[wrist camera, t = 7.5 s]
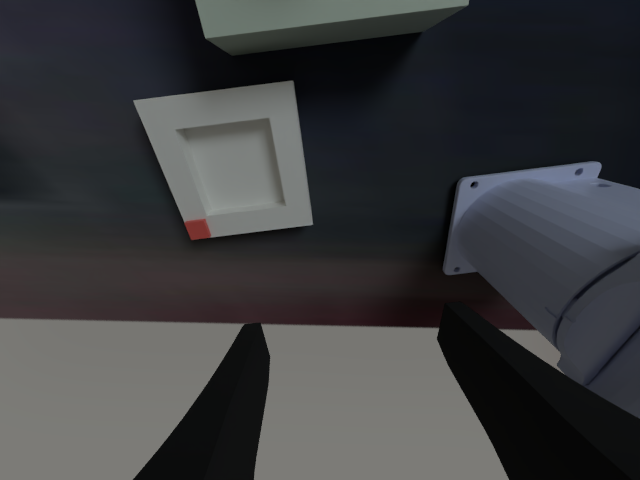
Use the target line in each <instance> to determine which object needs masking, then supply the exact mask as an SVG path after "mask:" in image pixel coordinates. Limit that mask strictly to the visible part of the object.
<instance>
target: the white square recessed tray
mask: <svg viewBox="0 0 640 480" xmlns="http://www.w3.org/2000/svg"><path fill="white" fill-rule="evenodd" d="M134 104H135V106H136V109H137V111H138V113H139V116H140V118H141V120H142V123H143V125H144V128H145V130H146V132H147V135H148V137H149V139H150V142H151V144H152V147H153V149H154V151H155V154H156V156H157V159H158V161H159V163H160V166H161V168H162V170H163V173H164V175H165V178H166V180H167V182H168V185H169V187H170V189H171V192H172V194H173V197H174V199H175V201H176V204H177V206H178V208H179V211H180V213H181V216H182V218H183V220H184V224H185V226H186V228H187V231H188V233H189V235H190V238H191V240H195V239H203V238H211V237H219V236H227V235H235V234H243V233H251V232H259V231H267V230H275V229H283V228H291V227H299V226H307V225H313V221H312V211H311V204H310V197H309V189H308V182H307V175H306V167H305V160H304V153H303V145H302V138H301V131H300V123H299V116H298V109H297V101H296V94H295V87H294V82H293V81H285V82H277V83H269V84H261V85H253V86H245V87H237V88H229V89H221V90H213V91H205V92H197V93H189V94H182V95H174V96H166V97H158V98H150V99H142V100H134Z"/></svg>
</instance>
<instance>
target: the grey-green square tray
mask: <svg viewBox="0 0 640 480" xmlns="http://www.w3.org/2000/svg"><path fill="white" fill-rule="evenodd" d="M195 2H196V5H197V9H198V13H199V17H200V20H201V24H202V28H203V32H204V35H205V39H207V40H209V41H210V42H212V43H213V44H215V45H216V46H218V47H219V48H221V49H222V50H224V51H225V52H227V53H229V54H230V55H232V56H234V55H242V54H250V53H258V52H266V51H274V50H282V49H290V48H297V47H305V46H313V45H321V44H329V43H337V42H345V41H353V40H361V39H369V38H377V37H385V36H392V35H400V34H408V33H416V32H423V31H425V30H427V29H429V28H430V27H432V26H434V25H435V24H437V23H439V22H440V21H442V20H444V19H446V18H447V17H449V16H451V15H452V14H454V13H456V12H457V11H459V10H461V9H463V8H464V7H466V6H468V3H469V0H195Z"/></svg>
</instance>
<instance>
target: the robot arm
mask: <svg viewBox="0 0 640 480" xmlns="http://www.w3.org/2000/svg"><path fill="white" fill-rule="evenodd" d="M576 170H577V171H576ZM600 170H601V164H600V163H599V162H592V161H591V162H583V163H575V164H567V165H559V166H551V167H543V168H535V169H527V170H519V171H511V172H503V173H495V174H487V175H479V176H471V177H464V178H462V179H460V180H459V182H458V183H457V186H456V192H455V198H454V204H453V210H452V216H451V222H450V228H449V234H448V240H447V246H446V252H445V258H444V264H443V271H444V273H445V274H446V275H455V274H463V273H471V272H478V273H479V274H480V275H482V276H483V277H484V278H485V279H486V280H487V281H488V282H489V283H490V284H491V285H492V286H493V287H494V288H495V289H496V290H497V291H498V292H499V293H500V294H501V295H502V296H503V297H504V298H505V299H506V300H507V301H508V302H509V303H510V304H511V305H512V306H513V307H514V308H515V309H516V310H517V311H518V312H520V313H521V314H522V315H523V316H524V317H525V318H526V319H527V320H528V321H529V322H530V323H531V324H532V325H533V326H534V327H535V328H536V329H537V330H538V331H539V332H540V333H541V334H542V335H543V336H544V337H545V338H546V339H547V340H548V341H549V342H551V344H552V345H553V346H554V347H556V349H558V350H559V351H560V353H561V357H560V360H559V362H558V363H557V366H558V367H559V368H560V369H561V371H562V372H563V373H564V374H563V373H561V372H560V371H558V370H557V369H555V368H554V367H552V366H551V365H549V364H548V363H546V362H544V361H543V360H542V359H540V358H539V357H537V356H536V355H534V354H533V353H531V352H530V351H528V350H527V349H525V348H524V347H523V346H521V345H520V344H518V343H517V342H515V341H514V340H512V339H511V338H510V337H508V336H507V335H506V334H504V333H503V332H502V331H500V330H499V329H497V328H496V327H495V326H493V325H492V324H491V323H489V322H488V321H486V320H485V319H484V318H482V317H481V316H480V315H478V314H477V313H476V312H474V311H473V310H472V309H470V308H469V307H467V306H466V305H465V304H463V303H462V302H452V303H445V305H444V310H443V314H442V319H441V323H440V327H439V332H438V336H437V340H438V342H439V345H440V347H441V350H442V352H443V355H444V357H445V359H446V361H447V364H448V366H449V367H450V369H451V371H452V373H453V375H454V376H455V378H456V380H457V382H458V383H459V385H460V387H461V389H462V390H463V392H464V394H465V396H466V398H467V399H468V401H469V403H470V405H471V406H472V408H473V410H474V412H475V413H476V415H477V417H478V419H479V420H480V422H481V424H482V426H483V427H484V429H485V431H486V433H487V435H488V436H489V439H490V440H491V442H492V444H493V446H494V448H495V451H496V453H497V455H498V457H499V459H500V461H501V463H502V465H503V467H504V470H505V472H506V474H507V476H508V478H509V480H640V189H637V188H633V187H630V186H626V185H622V184H618V183H614V182H610V181H606V180H602V179H599V178H597V177H598V174H599V172H600ZM575 172H576V173H575ZM474 181H475V184H474V185H473V186H472V187H470V185H471V183H473V182H474ZM456 267H457V268H456ZM455 268H456V269H455ZM269 365H270V355H269V351H268V348H267V344H266V341H265V337H264V334H263V330H262V326H261V323H252V324H245V325H244V326H243V327H242V329H241V330H240V332H239V334H238V335H237V337H236V339H235V341H234V342H233V344H232V346H231V347H230V349H229V351H228V352H227V354H226V356H225V357H224V359H223V360H222V362H221V363H220V365H219V367H218V368H217V370H216V371H215V373H214V374H213V376H212V378H211V379H210V381H209V382H208V384H207V385H206V387H205V388H204V389H203V391H202V392H201V394H200V395H199V396H198V398H197V399H196V401H195V402H194V404H193V405H192V406H191V408H190V409H189V411H188V412H187V413H186V415H185V416H184V417H183V419H182V420H181V421H180V423H179V424H178V425H177V427H176V428H175V429H174V430H173V432H172V433H171V434H170V436H169V437H168V438H167V440H166V441H165V442H164V443H163V444H162V446H161V447H160V448H159V449H158V451H157V452H156V453H155V454H154V455H153V457H152V458H151V459H150V460H149V461H148V463H147V464H146V465H145V466H144V467H143V468H142V470H141V471H140V472H139V473H138V474H137V476H136V477H135V478H134V479H133V480H254V470H255V462H256V456H257V450H258V444H259V438H260V432H261V426H262V420H263V414H264V408H265V402H266V396H267V390H268V382H269Z"/></svg>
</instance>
